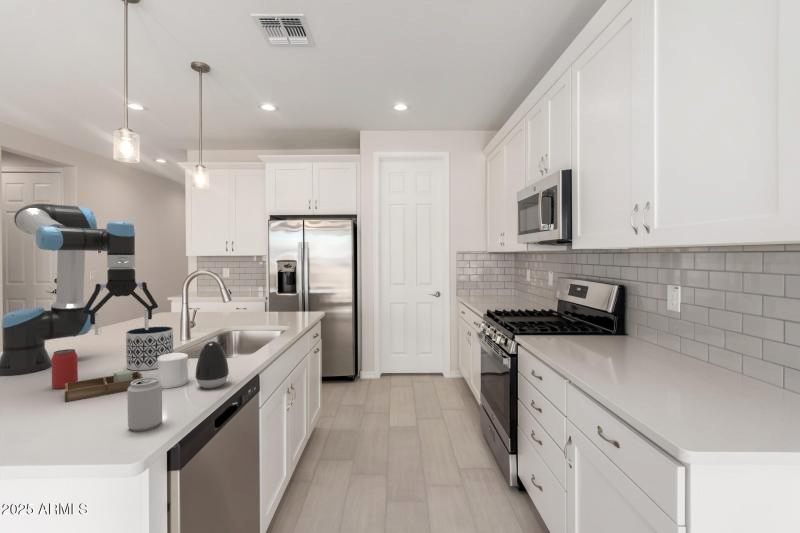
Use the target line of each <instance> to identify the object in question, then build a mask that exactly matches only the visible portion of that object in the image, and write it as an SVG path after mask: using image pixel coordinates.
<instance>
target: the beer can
mask: <svg viewBox="0 0 800 533" xmlns="http://www.w3.org/2000/svg"><path fill="white" fill-rule="evenodd" d="M51 356H52V357H51V387H52V388H53V389H56V390H62V389H64V390H65V383H70V382H77V381H79V374H78V373H79V372H78V370H79V368H78V365H79V364H78V353H77V352H76V349H73V348H68V349H67V348H65V349H59V350H56V351H54V352H53V355H51Z"/></svg>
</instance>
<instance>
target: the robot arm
mask: <svg viewBox="0 0 800 533" xmlns="http://www.w3.org/2000/svg"><path fill="white" fill-rule="evenodd" d="M13 221H14V223H15V225H16V227H17V228H18V229H19V230H20V231H22V232H24V233H26V234H29V235H33V236H35V243H36V245H37V248H38V249H39V250H43V251H47V250H48V251H52V252H55V251H57V260H56V261H57V262H56V263H57V265H56V288H55V289H56V290H55V291H56V293H55V296H56V298H55V301H54V302H53V303H52V304H51V305H50V309H49V310H45V308H44V307H33V308H32V307H31V308H23V309H19V310H15V311H10V312H7V313H5V314H4V315H3V316H2V319H1V320H2V322H1V329H2V330H1V331H2V332H1V333H2V334H1V336H2V354H1V356H0V376H17V375H18V376H19V375H24V374H30V373H36V372H40V371H43V370H47V369H49V368H52V359H51V357H50V355H49V354H48V351H47V349H46V347H45V345H46V344H45V342H46V341H49V340H57V339H63V338H70V337H71V338H72V337H77V336H82V335H83V336H84V335H86V334H88V333H89V332H90V331H91V330H92V327H93V325H94V335H95V336H98V335H99V314H98V313H97V312H98V311H99V310H101V308H102V307H103V306H104V305H105V304H106V303H107V302H108V301H109V300H110V299H111V298H112V297H115V298H116V297H118V298H119V297H128V296H130V295H131V296H132V297H133V298H134V299H135V300H136V301H138V302H139V304H141V305H142V306H143V307H144V308H145V310H144V311H143V312H144V313H143V314H144V328H145V330H148V327H149V320H150V321H151V320H152V319H153V310H154V309H158V308H159V305H158V303H157V302H156V300H155V298H154V297H153V296H152V294H151V292H150V291H149V289H148V286H147V282H146V281H141V282H137V281H136V269H134V268H135V267H136V252H135V250H136V247H135V246H136V245H135V242H136V239H135V238H136V236H135V235H136V231H135V225H134V223H132V222H129V221H127V222H126V221H108V222H107V223H106V228H98V224H97V218H96V216H95V214H94V212H93V211H92V209H90V208H88V207H83V206H77V205H62V204H50V203H34V204H33V203H31V204H29V205H26V206H23V207H21V208H20V209H17V211H16V212H15V213H14V217H13ZM86 251H91V252H92V251H93V252H94V251H95V252H97V251H98V252H99V251H100V252H106V263H107V264H106V266H107V268H109V269H107V273H106V274H107V282H106V283H104V284H102V283H98V282H97V283H96V284H95V286H94V291H93V292H92V295H91V296H90V297H89V299H88V301H87V302H86V301H85V300H84V296H85V295H84V294H85V293H84V291H85V290H84V289H85V266H86V264H85V262H86ZM137 287H138V288H139V289H142V291H143V293H144V294H145V296H146V298H147V299H148V301H149V303H150V304H151V305H150V304H148V303H147V302H146V301H145V300H144V299H143V298H142V297H141V296H140V295H138V293H137V292H135V290H136V288H137ZM105 288H106V290H108V291H109V292H108V293H106V295H104V297H103V298H102V299H101V300H100V301H99V302H98V303H97V304H96V305H95V306H94V307H93V308H92V306H93V304H94V303H95V301H96V299H97V297H98V295H99V294H100V291H101V292H102V291H103V290H104V289H105Z"/></svg>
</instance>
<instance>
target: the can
mask: <svg viewBox="0 0 800 533" xmlns="http://www.w3.org/2000/svg"><path fill="white" fill-rule="evenodd" d="M130 384H131V386H130V387H129V388H128V389H127V391H126V392H127V394H126V395H127V427H128V429H130V430H132V431H134V432H141V431H148V430H151V429H154V428H156V427H157V426H159V424H160V423H162V421H163V388H162V383H160V382H159V378H157V376H156V377H155V376H153V377H152V376H150V377H148V376H147V377H143V378H141V379H137V380H134V381H132V382H131V383H130Z"/></svg>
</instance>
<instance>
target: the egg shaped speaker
mask: <svg viewBox="0 0 800 533" xmlns="http://www.w3.org/2000/svg"><path fill="white" fill-rule="evenodd" d="M225 345H226V341H225V340H223V341H221V342H217V341H214V340H213V341H208V342H207V343H205V344H204V345H203V347H202V349H201V351H200V353H199V355H198V359H197V361H196V362H197V363H196V367H195V375H194V376H195V379H196V382H197V384H198V385H199V386H200V387H201V388H204V389H216V388H218V387H221V386H222V385H223V384H225V382H227V379H228V376H229V374H230V371H229V363H228V358H227V357H226V353H225V351H224V349H223V346H225Z"/></svg>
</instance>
